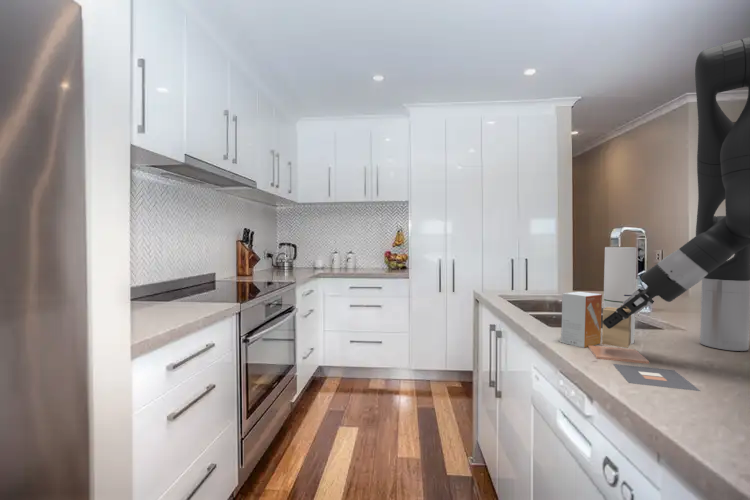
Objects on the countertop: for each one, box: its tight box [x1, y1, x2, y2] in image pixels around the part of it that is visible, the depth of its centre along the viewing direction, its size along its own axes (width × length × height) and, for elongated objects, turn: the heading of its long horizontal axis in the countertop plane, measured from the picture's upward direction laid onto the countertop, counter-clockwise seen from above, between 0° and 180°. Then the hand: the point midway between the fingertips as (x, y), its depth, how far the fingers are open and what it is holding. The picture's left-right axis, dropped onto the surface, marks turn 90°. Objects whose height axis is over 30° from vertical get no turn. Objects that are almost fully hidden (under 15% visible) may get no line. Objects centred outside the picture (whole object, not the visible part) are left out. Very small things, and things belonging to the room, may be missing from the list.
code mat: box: [612, 363, 701, 392], centre depth 76 cm, size 12×11×1 cm
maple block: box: [601, 307, 632, 349], centre depth 90 cm, size 5×5×8 cm
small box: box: [560, 291, 603, 348], centre depth 100 cm, size 8×6×13 cm
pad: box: [587, 345, 650, 365], centre depth 90 cm, size 10×10×1 cm
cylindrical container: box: [602, 246, 637, 345], centre depth 103 cm, size 7×7×25 cm
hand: (608, 323), depth 91 cm, fingers closed on maple block, 5 cm apart
